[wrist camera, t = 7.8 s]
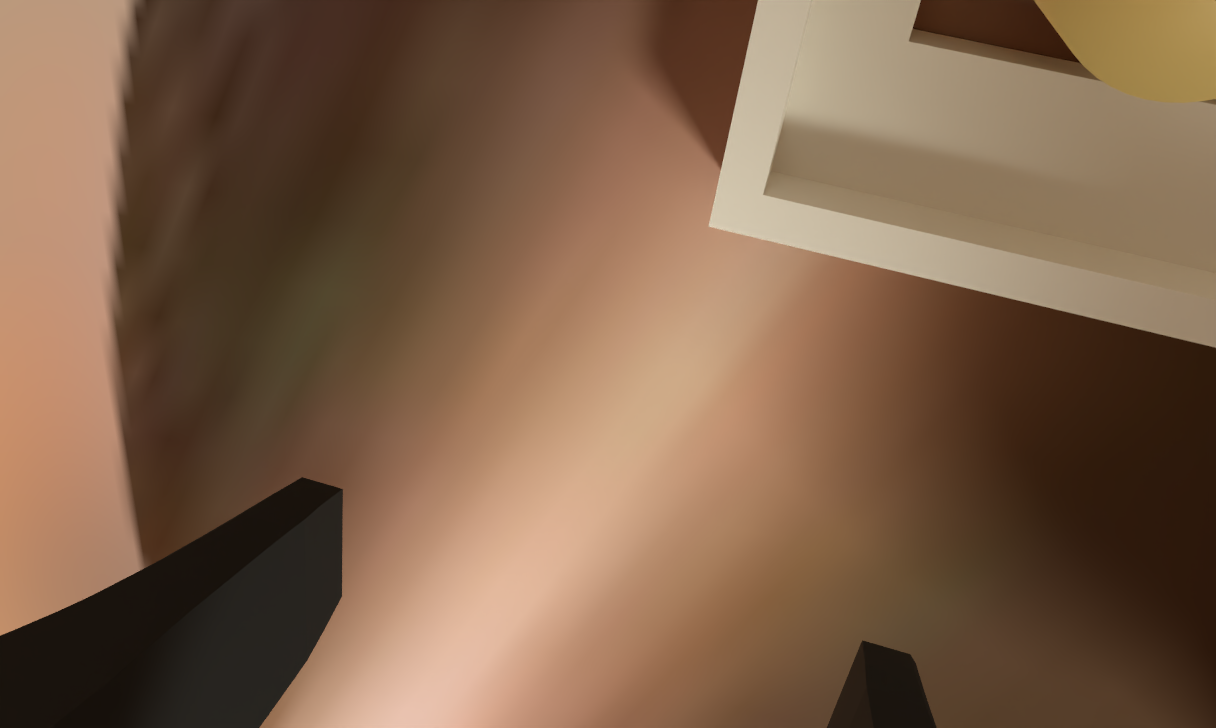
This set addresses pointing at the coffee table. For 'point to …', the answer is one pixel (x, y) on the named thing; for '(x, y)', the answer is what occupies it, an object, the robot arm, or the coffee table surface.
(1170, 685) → the coffee table surface
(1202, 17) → the peg
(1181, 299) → the bore box
